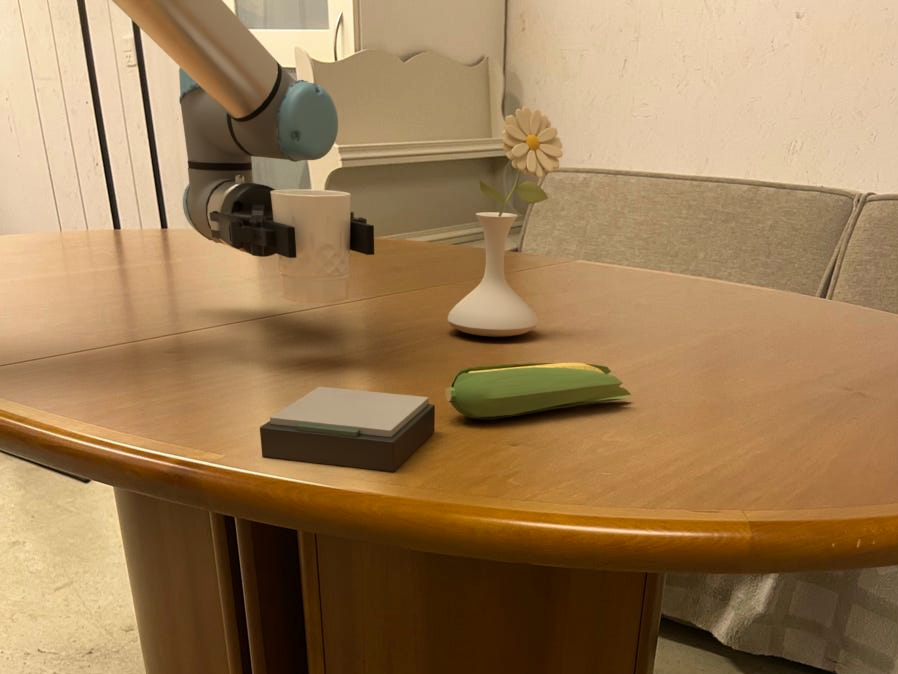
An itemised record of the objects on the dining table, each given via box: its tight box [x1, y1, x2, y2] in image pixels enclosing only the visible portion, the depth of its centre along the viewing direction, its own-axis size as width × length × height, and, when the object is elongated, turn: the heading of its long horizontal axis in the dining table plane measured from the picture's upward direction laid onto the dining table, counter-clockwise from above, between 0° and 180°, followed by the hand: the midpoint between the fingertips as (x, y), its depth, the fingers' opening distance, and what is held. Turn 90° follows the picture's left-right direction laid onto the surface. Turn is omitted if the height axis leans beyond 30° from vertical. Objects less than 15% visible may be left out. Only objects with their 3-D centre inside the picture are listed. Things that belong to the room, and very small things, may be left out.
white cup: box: [270, 188, 352, 304], centre depth 94 cm, size 8×8×10 cm
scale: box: [259, 386, 436, 473], centre depth 76 cm, size 11×11×3 cm
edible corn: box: [444, 362, 632, 421], centre depth 86 cm, size 5×20×5 cm, turn 118°
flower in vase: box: [446, 106, 563, 338], centre depth 111 cm, size 13×11×25 cm
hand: (332, 241), depth 90 cm, fingers closed on white cup, 8 cm apart
